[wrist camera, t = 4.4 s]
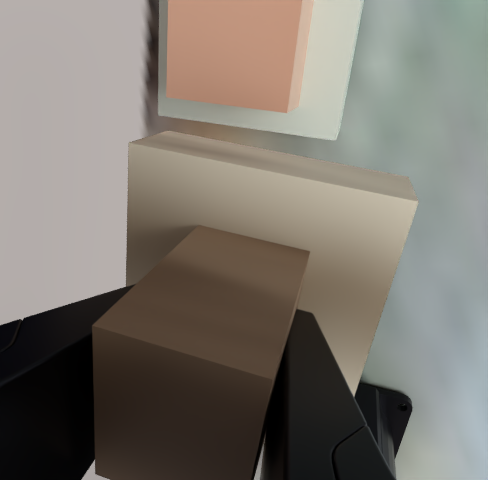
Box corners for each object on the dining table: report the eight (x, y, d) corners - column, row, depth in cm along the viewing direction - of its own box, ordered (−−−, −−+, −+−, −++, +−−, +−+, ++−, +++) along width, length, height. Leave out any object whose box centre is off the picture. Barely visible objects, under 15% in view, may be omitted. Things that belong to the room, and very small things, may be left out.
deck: (339, 130, 18) (335, 140, 15) (187, 109, 19) (157, 115, 16) (377, -69, 15) (380, -101, 12) (194, -77, 16) (160, -106, 13)
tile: (298, 106, 15) (287, 113, 12) (194, 93, 16) (166, 97, 13) (317, -24, 13) (308, -43, 11) (200, -31, 14) (168, -51, 12)
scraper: (346, 375, 12) (332, 624, 7) (157, 321, 13) (13, 496, 8) (408, 177, 9) (466, 315, 4) (168, 130, 11) (-33, 192, 5)
